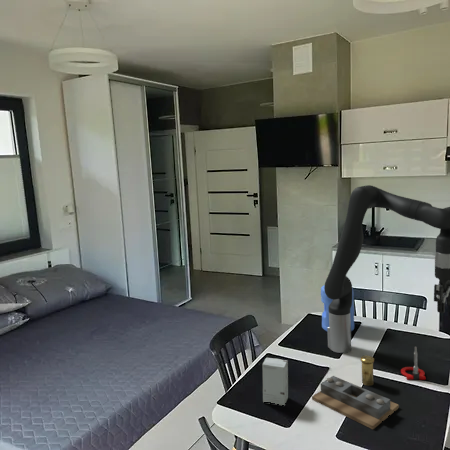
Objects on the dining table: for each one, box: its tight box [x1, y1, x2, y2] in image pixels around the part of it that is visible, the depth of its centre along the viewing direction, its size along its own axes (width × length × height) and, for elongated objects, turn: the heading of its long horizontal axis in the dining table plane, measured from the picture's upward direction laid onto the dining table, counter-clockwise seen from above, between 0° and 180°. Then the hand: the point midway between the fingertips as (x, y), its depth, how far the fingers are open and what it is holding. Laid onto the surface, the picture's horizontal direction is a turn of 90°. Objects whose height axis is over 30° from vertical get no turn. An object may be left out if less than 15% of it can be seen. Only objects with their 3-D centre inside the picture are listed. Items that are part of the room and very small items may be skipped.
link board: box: [311, 375, 400, 430], centre depth 146 cm, size 24×16×5 cm, turn 40°
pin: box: [360, 355, 375, 387], centre depth 158 cm, size 5×5×10 cm
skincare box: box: [262, 357, 289, 407], centre depth 151 cm, size 8×6×15 cm
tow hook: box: [400, 346, 426, 381], centre depth 162 cm, size 8×13×9 cm
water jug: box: [320, 284, 355, 332], centre depth 207 cm, size 16×16×28 cm
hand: (446, 308), depth 149 cm, fingers open, 8 cm apart
